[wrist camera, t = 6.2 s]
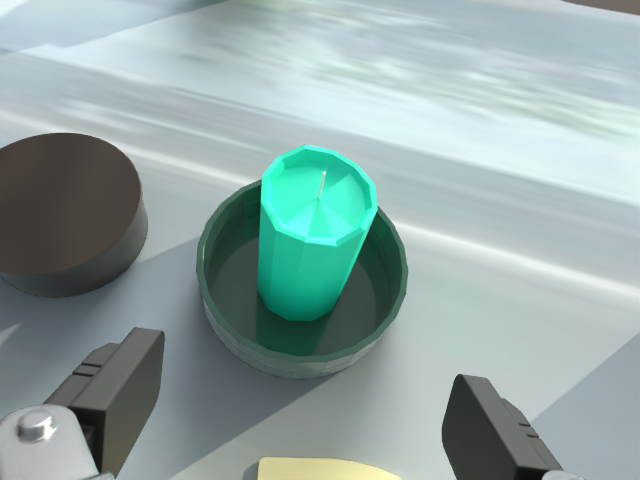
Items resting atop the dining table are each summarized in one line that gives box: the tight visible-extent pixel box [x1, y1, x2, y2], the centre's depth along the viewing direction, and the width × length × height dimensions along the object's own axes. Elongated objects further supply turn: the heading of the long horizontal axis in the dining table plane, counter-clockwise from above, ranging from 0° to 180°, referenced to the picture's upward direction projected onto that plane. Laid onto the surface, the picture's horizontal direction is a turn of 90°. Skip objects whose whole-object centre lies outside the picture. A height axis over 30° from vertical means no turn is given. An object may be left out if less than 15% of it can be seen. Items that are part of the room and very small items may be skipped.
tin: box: [196, 179, 408, 379], centre depth 31 cm, size 13×13×4 cm
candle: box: [257, 144, 378, 321], centre depth 27 cm, size 6×6×12 cm
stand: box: [0, 133, 148, 297], centre depth 30 cm, size 11×11×4 cm
